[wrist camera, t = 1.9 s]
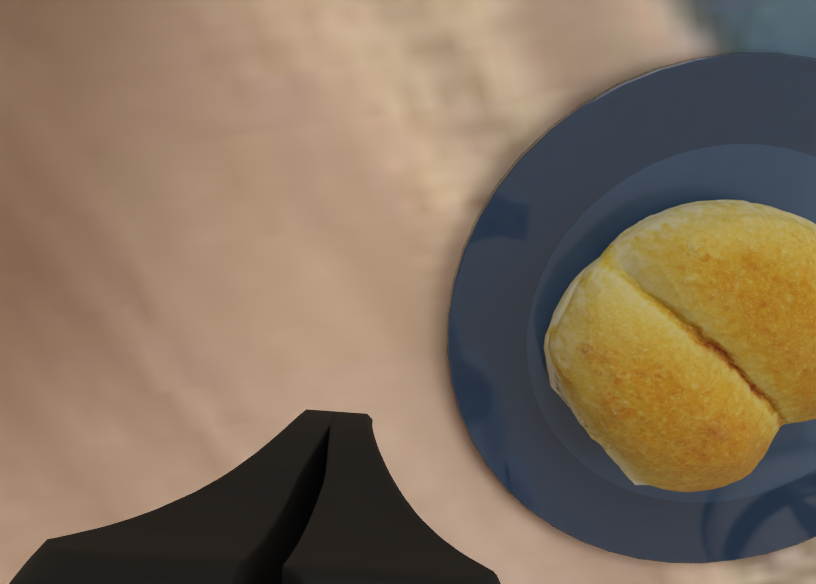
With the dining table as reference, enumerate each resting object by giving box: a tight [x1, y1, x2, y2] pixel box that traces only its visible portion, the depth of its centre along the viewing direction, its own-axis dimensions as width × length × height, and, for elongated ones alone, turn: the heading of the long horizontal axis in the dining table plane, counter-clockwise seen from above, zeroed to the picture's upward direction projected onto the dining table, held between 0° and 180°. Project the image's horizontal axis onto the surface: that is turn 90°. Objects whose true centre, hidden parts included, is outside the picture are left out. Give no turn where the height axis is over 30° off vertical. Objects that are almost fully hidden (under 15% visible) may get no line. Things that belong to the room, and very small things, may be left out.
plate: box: [447, 53, 816, 563], centre depth 23 cm, size 17×17×1 cm
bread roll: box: [544, 200, 816, 492], centre depth 20 cm, size 8×9×4 cm
